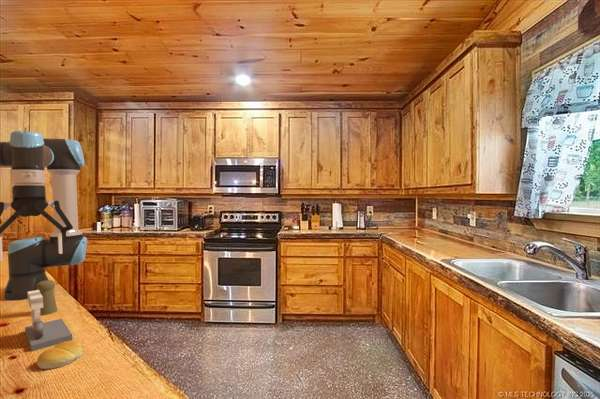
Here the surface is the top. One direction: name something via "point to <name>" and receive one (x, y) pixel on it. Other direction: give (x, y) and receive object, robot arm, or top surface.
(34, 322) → the gate
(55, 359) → the bread roll
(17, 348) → the top surface
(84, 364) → the top surface
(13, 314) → the top surface
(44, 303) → the olive mushroom
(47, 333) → the board
